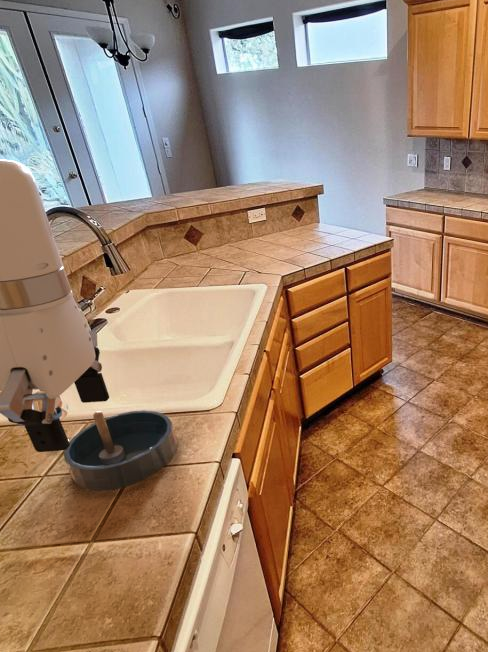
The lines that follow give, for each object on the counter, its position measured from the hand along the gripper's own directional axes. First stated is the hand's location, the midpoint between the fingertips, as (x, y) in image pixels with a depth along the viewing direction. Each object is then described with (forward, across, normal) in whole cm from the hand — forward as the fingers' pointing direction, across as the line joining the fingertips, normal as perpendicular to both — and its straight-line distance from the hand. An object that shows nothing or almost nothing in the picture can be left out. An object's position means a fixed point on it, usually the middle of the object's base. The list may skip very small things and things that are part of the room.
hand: (76, 423), depth 52 cm
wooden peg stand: (+26, -25, -13) cm, 38 cm away
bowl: (+26, -25, -10) cm, 38 cm away
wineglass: (+26, -32, -25) cm, 48 cm away
